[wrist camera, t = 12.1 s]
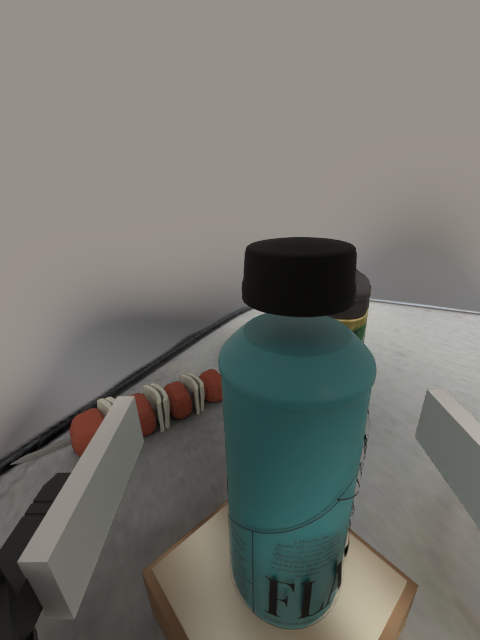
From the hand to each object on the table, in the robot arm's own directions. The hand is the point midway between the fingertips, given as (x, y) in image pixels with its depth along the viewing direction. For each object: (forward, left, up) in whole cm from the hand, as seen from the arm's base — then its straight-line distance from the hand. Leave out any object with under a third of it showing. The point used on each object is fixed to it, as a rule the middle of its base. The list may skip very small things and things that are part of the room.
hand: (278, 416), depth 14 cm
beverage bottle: (0, 0, -12) cm, 12 cm away
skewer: (-3, -23, -17) cm, 29 cm away
